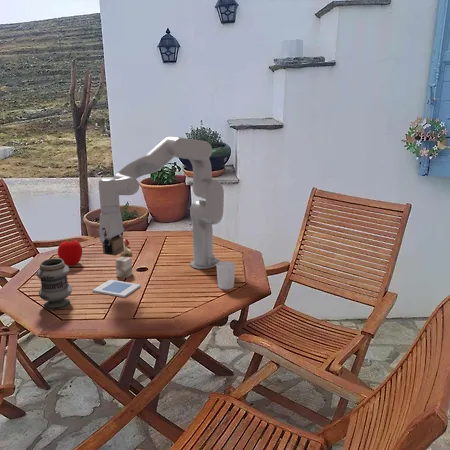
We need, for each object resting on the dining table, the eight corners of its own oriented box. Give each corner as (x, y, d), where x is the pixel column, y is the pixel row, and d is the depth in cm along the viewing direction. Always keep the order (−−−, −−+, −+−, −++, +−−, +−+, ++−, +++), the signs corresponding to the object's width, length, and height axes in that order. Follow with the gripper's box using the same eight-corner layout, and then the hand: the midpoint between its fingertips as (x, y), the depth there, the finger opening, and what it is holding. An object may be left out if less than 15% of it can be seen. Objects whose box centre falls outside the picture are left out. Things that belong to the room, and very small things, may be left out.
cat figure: (136, 257, 228) (124, 240, 249) (135, 241, 225) (123, 225, 246) (117, 260, 224) (107, 242, 245) (116, 244, 221) (106, 228, 242)
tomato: (64, 270, 207) (61, 245, 203) (56, 264, 214) (53, 239, 211) (87, 265, 214) (85, 239, 210) (78, 259, 222) (75, 235, 218)
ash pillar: (132, 274, 202) (131, 257, 200) (126, 278, 197) (124, 261, 195) (123, 272, 204) (122, 256, 201) (116, 276, 199) (115, 260, 197)
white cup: (222, 291, 182) (221, 269, 179) (213, 285, 189) (213, 263, 186) (238, 287, 186) (238, 265, 183) (229, 281, 192) (229, 260, 190)
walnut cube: (124, 251, 183) (123, 237, 181) (115, 255, 178) (114, 241, 176) (112, 249, 185) (111, 235, 184) (103, 253, 180) (102, 239, 178)
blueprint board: (141, 286, 188) (141, 284, 188) (124, 297, 178) (124, 295, 177) (110, 281, 194) (110, 279, 194) (92, 291, 183) (92, 289, 183)
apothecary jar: (41, 314, 164) (35, 269, 159) (40, 301, 175) (34, 258, 170) (75, 308, 169) (70, 264, 164) (72, 296, 180) (67, 254, 175)
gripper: (115, 203, 185) (118, 244, 190) (88, 213, 170) (92, 256, 175) (130, 205, 183) (133, 246, 187) (104, 214, 167) (108, 259, 172)
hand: (113, 251), depth 181 cm, fingers closed on walnut cube, 6 cm apart
